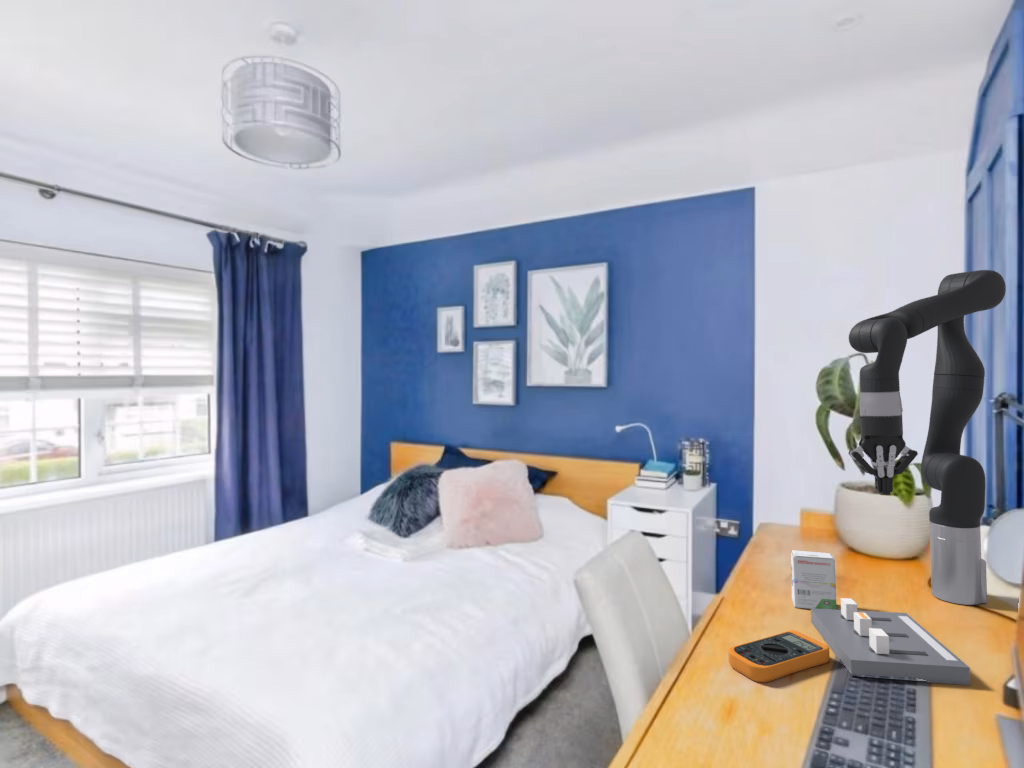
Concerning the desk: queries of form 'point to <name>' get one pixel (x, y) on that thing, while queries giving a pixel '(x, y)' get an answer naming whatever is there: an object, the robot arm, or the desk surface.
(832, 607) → the ink box
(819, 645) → the multimeter
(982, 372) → the robot arm
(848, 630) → the slider switch panel
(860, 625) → the breaker
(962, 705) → the desk surface
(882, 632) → the breaker
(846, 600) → the block
